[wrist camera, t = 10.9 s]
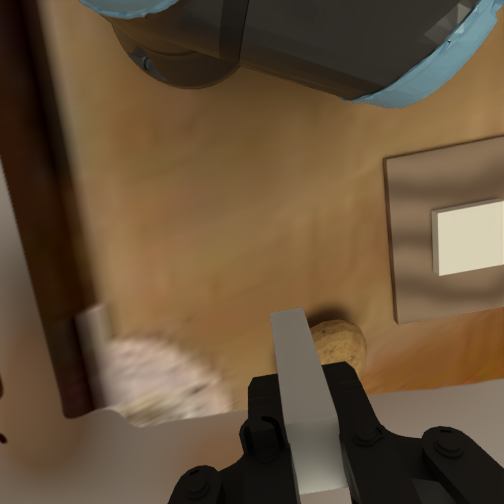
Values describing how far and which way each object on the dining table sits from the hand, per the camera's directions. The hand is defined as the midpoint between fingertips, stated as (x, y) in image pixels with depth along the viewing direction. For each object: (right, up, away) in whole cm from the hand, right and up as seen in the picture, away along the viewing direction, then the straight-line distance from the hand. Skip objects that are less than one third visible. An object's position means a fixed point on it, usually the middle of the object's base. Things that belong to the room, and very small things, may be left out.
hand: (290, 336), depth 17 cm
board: (+24, +6, +29) cm, 38 cm away
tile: (+21, +5, +27) cm, 35 cm away
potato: (+7, -9, +34) cm, 37 cm away
